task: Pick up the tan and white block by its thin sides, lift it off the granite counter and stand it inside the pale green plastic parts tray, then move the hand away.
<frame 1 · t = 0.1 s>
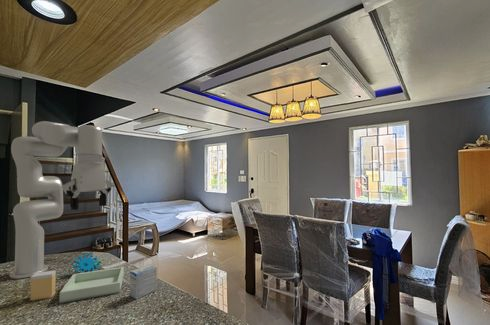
hand: (89, 207, 86), 31 cm above the kitchen counter, tool pointing down, fingers open, 9 cm apart
parts tray: (95, 287, 91), on the kitchen counter
medicine box: (143, 293, 86), on the kitchen counter
gear: (88, 272, 105), on the kitchen counter
tan and white block: (43, 296, 85), on the kitchen counter
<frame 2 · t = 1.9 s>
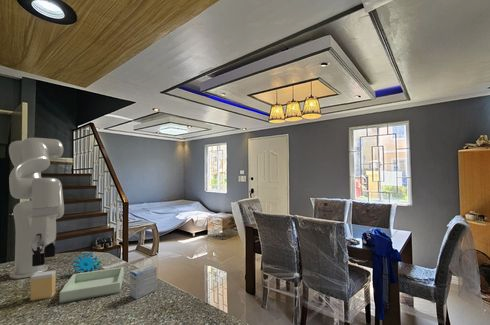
hand: (44, 261, 85), 12 cm above the kitchen counter, tool pointing down, fingers open, 9 cm apart
nothing on the kitchen counter moved.
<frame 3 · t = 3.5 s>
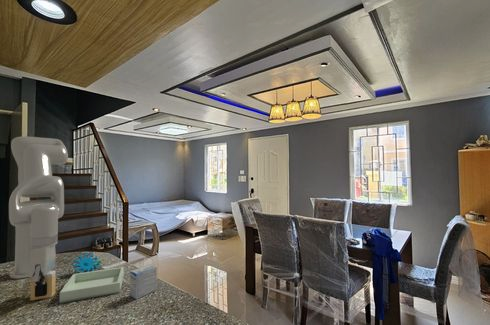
hand: (43, 292, 85), 1 cm above the kitchen counter, tool pointing down, fingers closed on tan and white block, 3 cm apart
tan and white block: (43, 296, 85), on the kitchen counter, touching gripper
everything else where it was.
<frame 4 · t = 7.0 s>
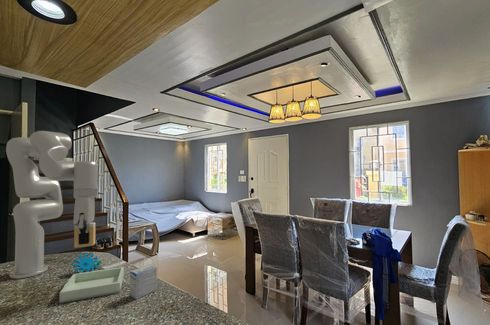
hand: (85, 241, 90), 18 cm above the kitchen counter, tool pointing down, fingers closed on tan and white block, 3 cm apart
tan and white block: (85, 245, 90), point 16 cm above the kitchen counter, touching gripper
everything else where it was.
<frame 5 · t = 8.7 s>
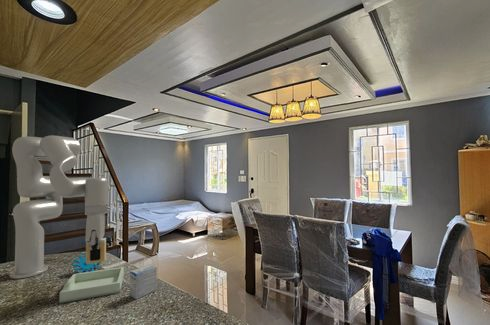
hand: (96, 257, 91), 11 cm above the kitchen counter, tool pointing down, fingers closed on tan and white block, 3 cm apart
tan and white block: (96, 261, 91), point 10 cm above the kitchen counter, touching gripper
everything else where it was.
when the fingers open (3 cm above the kitchen counter, at t = 10.4 s): tan and white block stays where it is, resting on parts tray.
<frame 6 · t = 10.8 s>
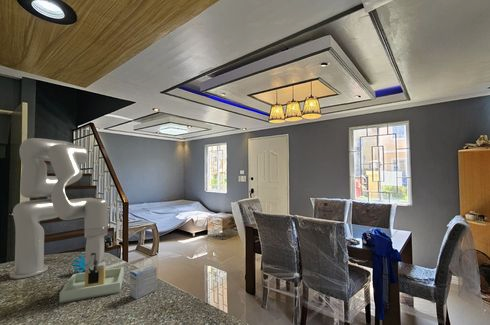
hand: (95, 278, 91), 3 cm above the kitchen counter, tool pointing down, fingers open, 7 cm apart
tan and white block: (95, 286, 91), point 1 cm above the kitchen counter, touching parts tray
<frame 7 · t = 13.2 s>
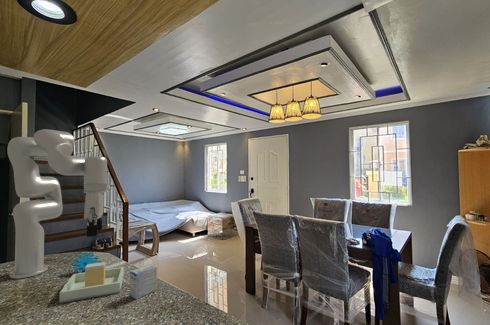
hand: (94, 233, 92), 20 cm above the kitchen counter, tool pointing down, fingers open, 9 cm apart
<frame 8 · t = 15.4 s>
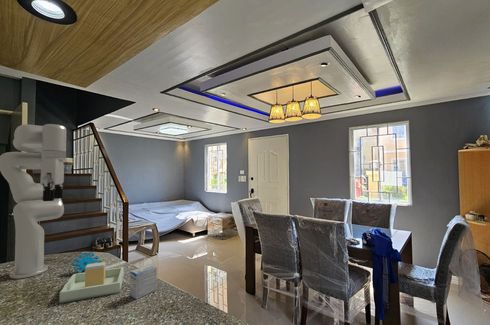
hand: (53, 199, 93), 33 cm above the kitchen counter, tool pointing down, fingers open, 9 cm apart
at the end: tan and white block inside the target area on the parts tray (0.1 cm from its centre), point 0.6 cm above the parts tray's base; tan and white block tilted 0°; the gripper is holding nothing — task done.
